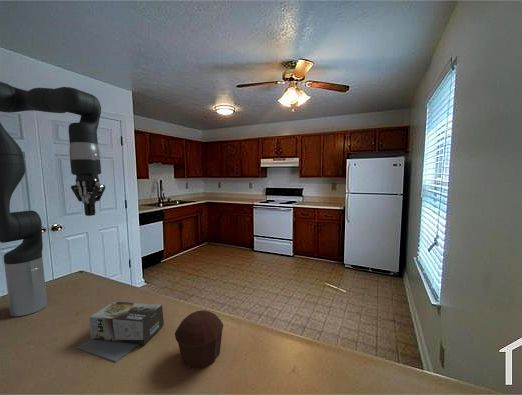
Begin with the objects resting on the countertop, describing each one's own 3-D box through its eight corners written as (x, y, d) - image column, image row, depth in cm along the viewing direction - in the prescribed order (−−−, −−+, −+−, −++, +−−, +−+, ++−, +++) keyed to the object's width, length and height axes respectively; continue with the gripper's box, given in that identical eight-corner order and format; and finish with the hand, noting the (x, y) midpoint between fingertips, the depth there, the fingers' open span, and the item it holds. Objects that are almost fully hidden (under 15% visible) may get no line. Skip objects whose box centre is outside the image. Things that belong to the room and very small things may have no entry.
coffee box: (90, 339, 67) (143, 346, 64) (88, 316, 66) (142, 321, 63) (116, 321, 76) (164, 325, 72) (115, 300, 75) (163, 304, 72)
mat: (77, 348, 64) (77, 347, 64) (125, 318, 77) (125, 317, 77) (116, 362, 59) (115, 361, 59) (160, 328, 72) (160, 327, 72)
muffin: (185, 339, 66) (183, 303, 65) (227, 338, 66) (225, 302, 66) (169, 375, 55) (166, 331, 54) (220, 373, 55) (218, 330, 54)
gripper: (58, 159, 75) (63, 216, 76) (87, 157, 70) (92, 218, 71) (83, 160, 82) (88, 213, 83) (112, 158, 77) (116, 214, 78)
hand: (90, 215), depth 77 cm, fingers closed
